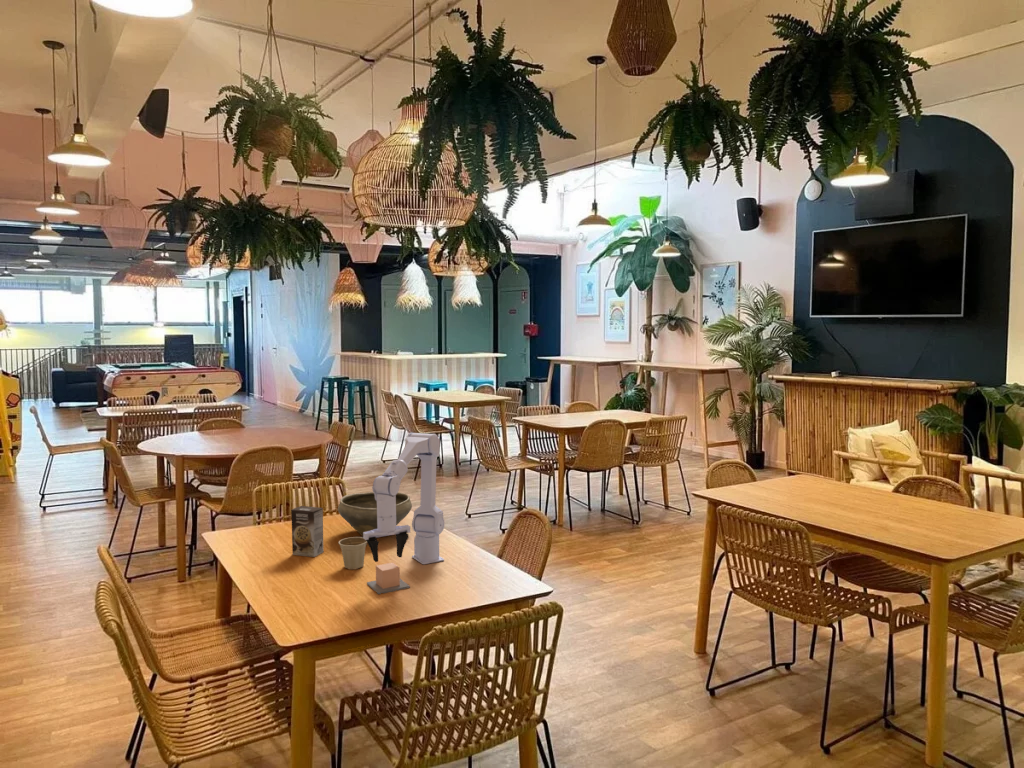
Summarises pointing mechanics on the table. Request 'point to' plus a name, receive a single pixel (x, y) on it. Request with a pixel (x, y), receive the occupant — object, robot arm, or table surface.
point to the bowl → (369, 510)
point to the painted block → (387, 575)
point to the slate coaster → (389, 589)
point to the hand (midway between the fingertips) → (387, 558)
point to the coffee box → (307, 531)
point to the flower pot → (353, 552)
